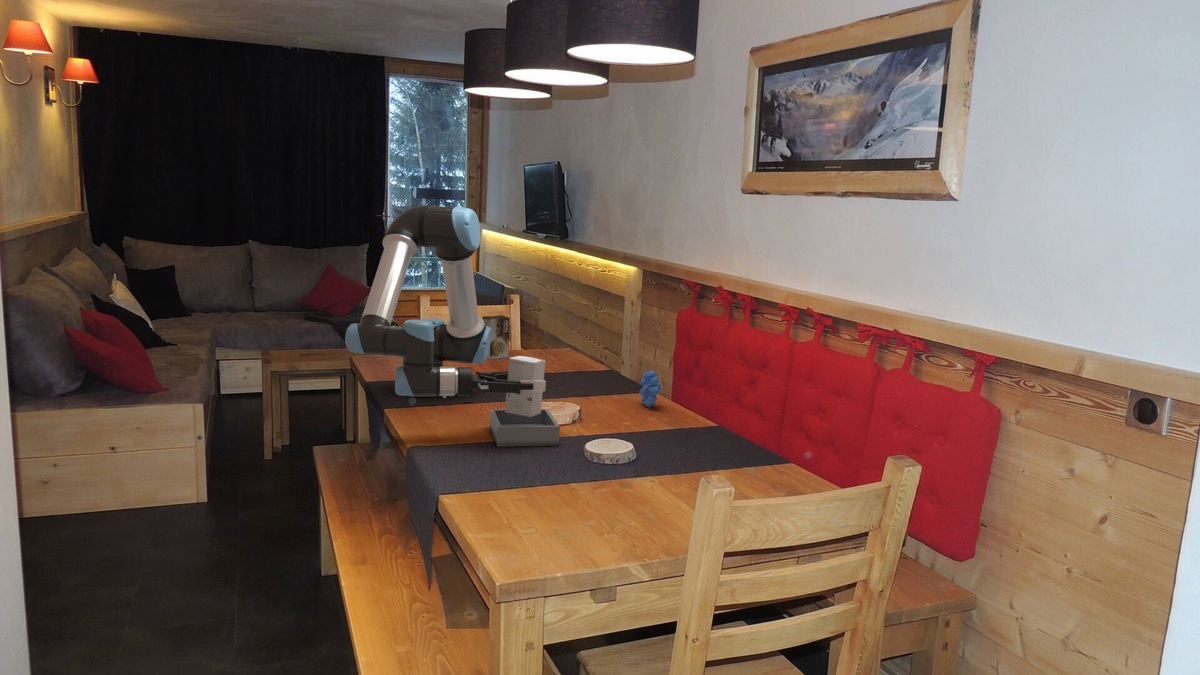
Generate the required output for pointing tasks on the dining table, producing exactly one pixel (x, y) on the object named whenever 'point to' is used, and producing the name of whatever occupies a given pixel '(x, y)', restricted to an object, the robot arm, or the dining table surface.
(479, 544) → the dining table surface
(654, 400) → the grapes
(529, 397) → the skincare box
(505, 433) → the tote
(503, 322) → the coffee box
